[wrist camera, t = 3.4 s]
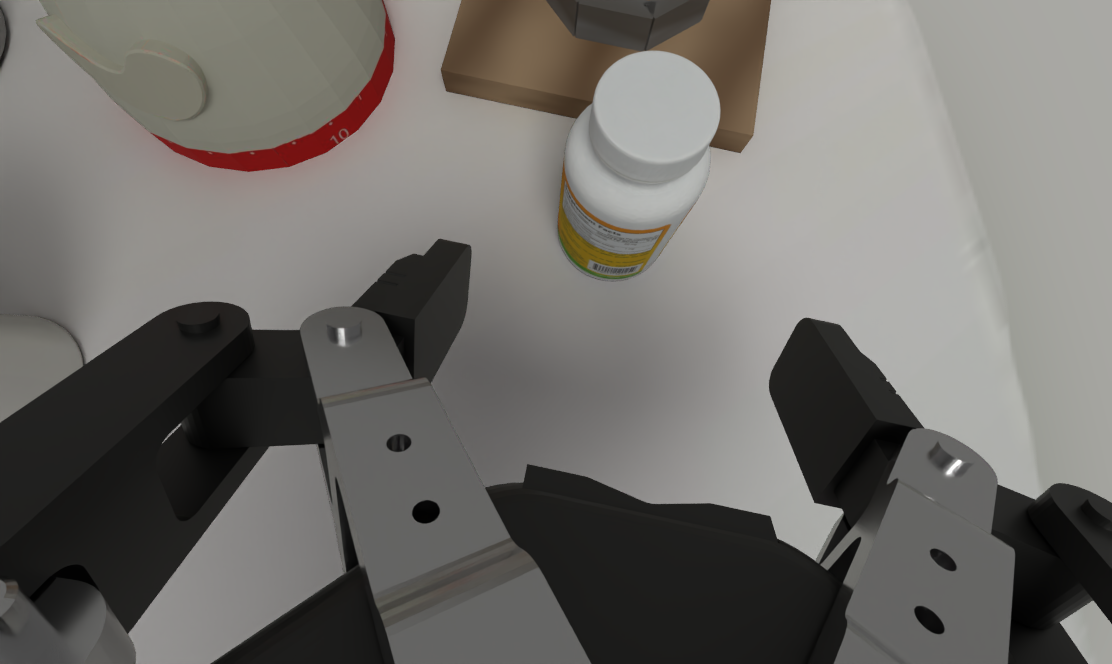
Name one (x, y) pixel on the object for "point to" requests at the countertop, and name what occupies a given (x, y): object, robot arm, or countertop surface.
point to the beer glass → (32, 359)
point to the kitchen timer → (234, 71)
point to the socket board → (606, 51)
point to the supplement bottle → (635, 163)
